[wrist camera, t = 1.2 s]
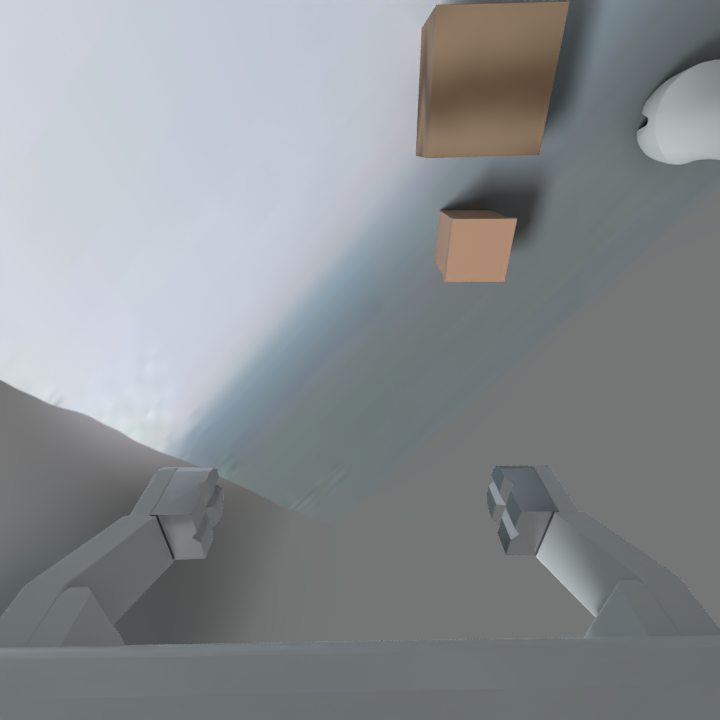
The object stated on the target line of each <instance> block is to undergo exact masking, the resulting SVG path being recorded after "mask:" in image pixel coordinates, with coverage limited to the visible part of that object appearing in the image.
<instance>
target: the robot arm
mask: <svg viewBox="0 0 720 720" xmlns="http://www.w3.org/2000/svg"><path fill="white" fill-rule="evenodd" d="M492 477H493V480H494V482H493V483H492V484H491V485H490V486H489V488H488V492H487V504H488V509H489V512H490V515H491V518H492V519H493V520H494V521H495V522H496V523H497V524H498V525H500V526H499V529H498V532H497V533H498V536H499V538H500V541H501V544H502V546H503V549H504V551H505V554H506V555H537V556H536V557H537V558H538V559H539V560H540V561H541V562H542V563H543V564H544V566H546V567H547V569H548V570H549V571H550V572H551V573H552V574H553V575H554V576H556V578H557V579H558V580H559V581H560V582H561V583H562V584H563V585H564V586H565V587H566V588H567V589H568V590H569V591H570V592H571V593H572V594H573V595H574V596H575V597H576V598H577V599H578V600H579V601H580V602H581V603H582V604H583V605H584V606H585V607H586V608H587V609H588V610H589V611H590V612H591V613H592V614H593V615H594V616H595V617H596V618H595V620H594V621H593V623H592V625H591V626H590V628H589V629H588V631H587V633H586V635H585V637H583V638H528V639H527V638H526V639H467V640H406V641H349V642H292V643H234V644H181V645H180V644H178V645H125V646H124V643H123V640H122V638H121V637H120V635H119V633H118V632H117V630H116V629H115V627H114V626H113V624H114V623H115V622H116V621H117V620H118V619H119V618H120V617H121V616H122V614H124V613H125V612H126V610H128V609H129V608H130V607H131V606H132V604H133V603H134V602H135V601H136V600H137V599H138V598H139V597H140V596H141V595H142V594H143V593H144V592H145V591H146V590H147V589H148V588H149V587H150V586H151V585H152V584H153V583H154V582H155V580H157V578H158V577H159V576H160V575H161V574H162V573H163V572H164V571H165V570H166V569H167V568H168V567H169V566H170V565H171V564H172V563H173V562H174V560H176V559H198V558H199V559H201V558H206V555H207V552H208V550H209V547H210V544H211V542H212V539H213V532H212V529H211V528H212V527H213V526H214V525H215V524H217V523H218V522H219V519H220V516H221V513H222V508H223V491H222V488H221V487H219V485H217V481H218V479H219V475H218V472H217V469H215V468H161V469H160V470H158V471H157V472H156V474H155V475H154V477H153V479H152V480H151V482H150V483H149V485H148V487H147V488H146V490H145V492H144V493H143V495H142V496H141V498H140V500H139V502H138V503H137V504H136V506H135V508H134V509H133V511H132V513H131V514H130V516H123V517H122V518H121V519H119V520H118V521H116V522H115V523H114V524H112V525H111V526H109V527H108V528H106V529H105V530H104V531H102V532H101V533H99V534H98V535H96V536H95V537H94V538H92V539H91V540H89V541H88V542H86V543H85V544H84V545H82V546H81V547H79V548H78V549H76V550H75V551H74V552H72V553H71V554H69V555H68V556H66V557H65V558H64V559H62V560H61V561H59V562H58V563H57V564H55V565H54V566H53V567H51V568H49V569H48V570H46V571H45V572H44V573H42V574H41V575H39V576H38V577H37V578H35V579H34V580H32V581H31V582H29V583H28V584H27V585H25V586H24V587H23V589H22V590H21V591H20V593H19V594H18V595H17V596H16V598H15V599H14V600H13V602H12V603H11V604H10V606H9V607H8V608H7V610H6V611H5V612H4V614H3V615H2V616H1V617H0V720H720V629H719V627H718V626H717V625H716V623H715V622H714V621H713V620H712V618H711V617H710V616H709V614H708V613H707V612H706V611H705V609H704V608H703V607H702V605H701V604H700V603H699V601H698V600H697V599H696V598H695V596H694V595H693V594H692V592H691V591H690V590H689V589H688V587H687V586H686V585H685V583H684V582H683V581H682V580H681V578H680V577H678V576H677V575H675V574H674V573H672V572H671V571H670V570H668V569H667V568H665V567H664V566H662V565H661V564H659V563H658V562H656V561H655V560H653V559H652V558H650V557H649V556H648V555H646V554H645V553H643V552H642V551H640V550H639V549H637V548H636V547H634V546H633V545H632V544H630V543H629V542H627V541H626V540H625V539H623V538H622V537H620V536H619V535H617V534H616V533H614V532H613V531H611V530H610V529H609V528H607V527H606V526H604V525H603V524H601V523H600V522H598V521H597V520H595V519H594V518H593V517H591V516H589V515H588V514H587V513H585V512H579V511H578V509H577V508H576V506H575V504H574V503H573V501H572V500H571V498H570V497H569V495H568V494H567V492H566V491H565V489H564V487H563V486H562V484H561V483H560V481H559V480H558V478H557V477H556V475H555V474H554V472H553V470H552V469H551V468H550V467H549V466H547V465H542V466H496V467H495V468H494V469H493V473H492Z"/></svg>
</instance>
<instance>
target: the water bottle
mask: <svg viewBox="0 0 720 720" xmlns="http://www.w3.org/2000/svg"><path fill="white" fill-rule="evenodd" d="M642 114H643V115H644V116H646V117H647V118H648V123H647V125H646V126H644V127H643V128H641V129H639V130H638V131H637V138H636V139H637V142H638V144H639V146H640V148H641V149H642V151H643V152H644V153H645V154H646V155H647V156H649V157H650V158H652V159H655V160H657V161H660V162H664V163H667V164H677V165H680V164H686V163H689V162H692V161H694V160H701V159H718V160H720V59H719V60H712V61H707V62H703V63H699V64H697V65H695V66H693V67H691V68H689V69H687V70H685V71H683V72H681V73H679V74H677V75H675V76H673V77H672V78H670V79H668V80H667V81H666V82H664V83H663V84H662V85H660V86H659V87H658V88H657V89H656V90H655V91H654V92H653V93H652V95H651V96H650V97H649V98H648V99H647V101H646V102H645V104H644V107H643V110H642Z"/></svg>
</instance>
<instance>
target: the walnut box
mask: <svg viewBox="0 0 720 720" xmlns="http://www.w3.org/2000/svg"><path fill="white" fill-rule="evenodd" d="M569 3H570V1H564V2H527V3H489V4H452V5H436V7H435V8H434V10H433V12H432V13H431V15H430V16H429V18H428V19H427V21H426V23H425V24H424V26H423V27H422V35H421V57H420V78H419V99H418V121H417V142H416V156H419V157H425V158H445V157H477V156H510V155H539V153H540V148H541V143H542V138H543V133H544V128H545V123H546V118H547V113H548V108H549V103H550V98H551V93H552V88H553V83H554V78H555V73H556V68H557V63H558V58H559V53H560V48H561V43H562V38H563V33H564V28H565V23H566V18H567V13H568V8H569Z"/></svg>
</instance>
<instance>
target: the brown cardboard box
mask: <svg viewBox="0 0 720 720" xmlns="http://www.w3.org/2000/svg"><path fill="white" fill-rule="evenodd" d="M516 223H517V218H515V217H505V216H503V215H501V214H498V213H496V212H494V211H492V210H440V213H439V223H438V233H437V242H436V252H435V261H434V262H435V263H436V265H437V266H438V267H439V269H440V270H441V272H442V273H443V274H444V277H443V280H444V281H445V282H504V280H505V275H506V270H507V266H508V261H509V256H510V251H511V246H512V242H513V237H514V232H515V227H516Z"/></svg>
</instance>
